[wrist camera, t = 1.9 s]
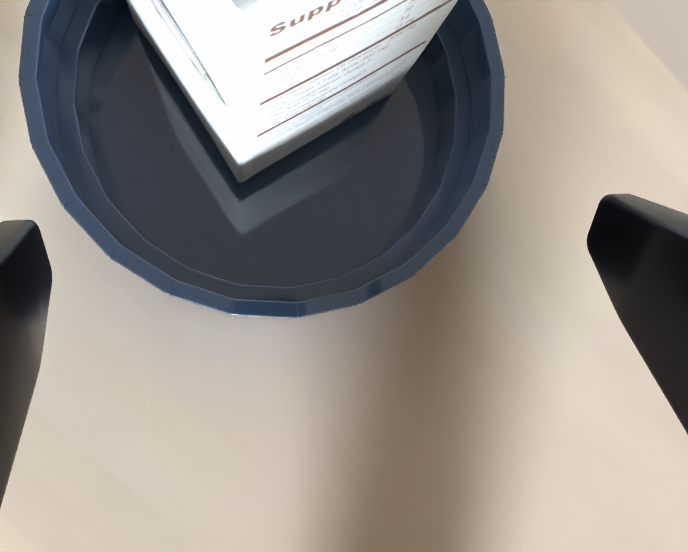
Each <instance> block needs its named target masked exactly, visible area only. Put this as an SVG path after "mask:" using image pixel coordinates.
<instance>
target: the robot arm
mask: <svg viewBox="0 0 688 552" xmlns="http://www.w3.org/2000/svg"><path fill="white" fill-rule="evenodd" d="M587 247H588V251H589V253H590V255H591V257H592V260H593V262H594V264H595V266H596V268H597V271H598V273H599V275H600V277H601V280H602V282H603V284H604V286H605V288H606V291H607V293H608V295H609V297H610V299H611V302H612V304H613V306H614V308H615V310H616V312H617V314H618V316H619V318H620V320H621V322H622V324H623V326H624V327H625V329H626V331H627V333H628V334H629V336H630V338H631V339H632V341H633V343H634V344H635V346H636V348H637V350H638V351H639V353H640V355H641V356H642V358H643V360H644V361H645V363H646V365H647V366H648V368H649V370H650V371H651V373H652V375H653V377H654V378H655V380H656V382H657V383H658V385H659V387H660V388H661V390H662V392H663V393H664V395H665V397H666V398H667V400H668V402H669V404H670V405H671V407H672V409H673V410H674V412H675V414H676V415H677V417H678V419H679V420H680V422H681V424H682V425H683V427H684V429H685V431H686V432H687V434H688V214H685V213H682V212H679V211H676V210H674V209H671V208H668V207H665V206H662V205H659V204H657V203H654V202H651V201H648V200H645V199H643V198H640V197H637V196H634V195H631V194H610V195H606V196H605V197H603V198H602V199H601V201H600V203H599V205H598V208H597V210H596V213H595V216H594V219H593V222H592V224H591V227H590V230H589V233H588V236H587ZM51 286H52V271H51V266H50V262H49V259H48V256H47V252H46V249H45V246H44V242H43V239H42V236H41V232H40V229H39V227H38V225H37V224H36V223H35V222H34V221H32V220H11V221H3V222H1V223H0V508H1V504H2V501H3V497H4V494H5V490H6V486H7V483H8V479H9V476H10V472H11V469H12V465H13V462H14V458H15V455H16V451H17V448H18V444H19V441H20V437H21V434H22V430H23V427H24V423H25V420H26V416H27V412H28V409H29V405H30V402H31V398H32V395H33V391H34V388H35V384H36V381H37V377H38V373H39V369H40V363H41V357H42V351H43V344H44V336H45V329H46V322H47V315H48V307H49V300H50V293H51Z"/></svg>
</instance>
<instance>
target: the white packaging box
mask: <svg viewBox="0 0 688 552" xmlns="http://www.w3.org/2000/svg"><path fill="white" fill-rule="evenodd" d="M457 1H458V0H126V2H127V4H128V7H129V10H130V13H131V15H132V18H133V20H134V22H135V23H136V25H137V26H138V28H139V29H140V30H141V32H142V33H143V34H144V36H145V37H146V39H147V40H148V41H149V43H150V44H151V46H152V47H153V48H154V50H155V51H156V53H157V54H158V56H159V57H160V58H161V60H162V61H163V63H164V64H165V66H166V67H167V69H168V70H169V72H170V73H171V75H172V77H173V78H174V80H175V81H176V83H177V84H178V86H179V87H180V89H181V90H182V92H183V94H184V95H185V97H186V98H187V100H188V101H189V103H190V104H191V106H192V108H193V109H194V111H195V112H196V114H197V116H198V117H199V119H200V120H201V122H202V124H203V125H204V127H205V128H206V130H207V131H208V133H209V135H210V136H211V138H212V139H213V141H214V143H215V144H216V146H217V148H218V149H219V151H220V153H221V154H222V156H223V158H224V159H225V161H226V163H227V164H228V166H229V168H230V169H231V171H232V173H233V175H234V176H235V178H236V180H237V181H238V182H239V183H242V182H244V181H246V180H247V179H249V178H250V177H252V176H253V175H255V174H257V173H258V172H260V171H262V170H263V169H265V168H267V167H268V166H270V165H272V164H273V163H275V162H277V161H278V160H280V159H282V158H283V157H285V156H287V155H288V154H290V153H292V152H293V151H295V150H297V149H298V148H300V147H302V146H303V145H305V144H307V143H308V142H310V141H312V140H314V139H315V138H317V137H319V136H320V135H322V134H324V133H325V132H327V131H329V130H330V129H332V128H334V127H335V126H337V125H339V124H340V123H342V122H344V121H346V120H347V119H349V118H351V117H352V116H354V115H356V114H357V113H359V112H361V111H362V110H364V109H366V108H367V107H369V106H371V105H372V104H374V103H376V102H377V101H379V100H381V99H382V98H384V97H386V96H388V95H389V94H391V93H392V92H393V91H394V90H395V89H396V87H397V86H398V85H399V83H400V82H401V80H402V79H403V78H404V76H405V75H406V73H407V72H408V70H409V69H410V68H411V66H412V65H413V64H414V63H415V62H416V60H417V59H418V57H419V56H420V54H421V53H422V51H423V50H424V49H425V47H426V46H427V44H428V43H429V42H430V40H431V39H432V37H433V36H434V34H435V33H436V31H437V30H438V28H439V27H440V25H441V24H442V23H443V21H444V20H445V18H446V17H447V15H448V14H449V13H450V11H451V10H452V8H453V7H454V5H455V4H456V2H457Z"/></svg>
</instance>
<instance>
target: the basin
mask: <svg viewBox="0 0 688 552" xmlns="http://www.w3.org/2000/svg"><path fill="white" fill-rule="evenodd" d="M25 14H26V15H25V16H24V25H23V36H22V46H21V57H20V67H19V77H18V78H19V86H20V91H21V96H22V101H23V107H24V112H25V117H26V122H27V127H28V132H29V137H30V142H31V145H32V148H33V150H34V152H35V154H36V156H37V158H38V160H39V162H40V164H41V166H42V168H43V170H44V172H45V174H46V176H47V178H48V180H49V182H50V183H51V185H52V187H53V189H54V191H55V193H56V195H57V197H58V199H59V201H60V203H61V205H62V206H63V207H64V209H65V210H66V211H67V212H68V213H69V214H70V215H71V217H72V218H73V219H74V220H75V221H76V222H77V223H78V224H79V225H80V226H81V227H82V229H83V230H84V231H85V232H86V233H87V234H88V235H89V236H90V237H91V238H92V239H93V241H94V242H95V243H96V244H97V245H98V246H99V247H100V248H101V249H102V250H103V251H104V253H105V254H106V255H107V256H109V257H110V258H111V259H112V260H114V261H115V262H117V263H118V264H120V265H122V266H123V267H125V268H126V269H128V270H129V271H131V272H133V273H134V274H136V275H137V276H139V277H140V278H142V279H144V280H145V281H147V282H148V283H150V284H152V285H153V286H155V287H156V288H158V289H159V290H161V291H163V292H164V293H166V294H168V295H170V296H173V297H176V298H179V299H182V300H185V301H188V302H191V303H194V304H197V305H201V306H204V307H207V308H210V309H213V310H216V311H219V312H223V313H226V314H229V315H234V316H244V317H264V318H285V319H288V318H301V317H306V316H310V315H315V314H319V313H324V312H329V311H333V310H338V309H342V308H347V307H352V306H356V305H359V304H362V303H364V302H366V301H368V300H370V299H372V298H374V297H375V296H377V295H379V294H381V293H383V292H385V291H387V290H389V289H391V288H393V287H395V286H396V285H398V284H400V283H402V282H404V281H406V280H408V279H410V278H412V277H413V276H414V275H416V274H417V273H418V272H419V271H420V270H421V269H422V268H423V267H424V266H426V265H427V264H428V263H429V262H430V261H431V260H432V259H433V258H434V257H435V256H436V255H437V254H438V253H439V252H441V251H442V250H443V249H444V248H445V247H446V246H447V245H448V244H449V243H450V242H451V241H452V240H453V239H454V238H455V237H456V235H458V234H459V232H460V230H461V229H462V227H463V226H464V224H465V222H466V221H467V219H468V217H469V216H470V214H471V212H472V211H473V209H474V208H475V206H476V204H477V203H478V201H479V199H480V198H481V196H482V194H483V193H484V191H485V190H486V188H487V185H488V182H489V179H490V175H491V172H492V169H493V165H494V162H495V158H496V155H497V151H498V148H499V145H500V141H501V138H502V134H503V132H502V131H503V123H504V82H505V75H504V68H503V64H502V60H501V55H500V51H499V47H498V42H497V38H496V33H495V29H494V25H493V20H492V18H491V15H490V13H489V11H488V9H487V7H486V5H485V3H484V1H483V0H458V1H457V2H456V4H455V5H454V7H453V8H452V10H451V11H450V13H449V14H448V15H447V17H446V18H445V20H444V21H443V23H442V24H441V25H440V27H439V28H438V30H437V31H436V33H435V34H434V36H433V37H432V39H431V40H430V42H429V43H428V44H427V46H426V47H425V49H424V50H423V51H422V53H421V54H420V56H419V57H418V59H417V60H416V62H415V63H414V64H413V65H412V66H411V68H410V69H409V70H408V72H407V73H406V75H405V76H404V78H403V79H402V80H401V82H400V83H399V85H398V86H397V87H396V89H395V90H394V91H393V92H392V93H391V94H389V95H388V96H386V97H384V98H382V99H381V100H379V101H377V102H376V103H374V104H372V105H371V106H369V107H367V108H366V109H364V110H362V111H361V112H359V113H357V114H356V115H354V116H352V117H351V118H349V119H347V120H346V121H344V122H342V123H340V124H339V125H337V126H335V127H334V128H332V129H330V130H329V131H327V132H325V133H324V134H322V135H320V136H319V137H317V138H315V139H314V140H312V141H310V142H308V143H307V144H305V145H303V146H302V147H300V148H298V149H297V150H295V151H293V152H292V153H290V154H288V155H287V156H285V157H283V158H282V159H280V160H278V161H277V162H275V163H273V164H272V165H270V166H268V167H267V168H265V169H263V170H262V171H260V172H258V173H257V174H255V175H253V176H252V177H250V178H249V179H247V180H246V181H244V182H242V183H239V182H238V181H237V180H236V178H235V176H234V175H233V173H232V171H231V169H230V168H229V166H228V164H227V163H226V161H225V159H224V158H223V156H222V154H221V153H220V151H219V149H218V148H217V146H216V144H215V143H214V141H213V139H212V138H211V136H210V135H209V133H208V131H207V130H206V128H205V127H204V125H203V124H202V122H201V120H200V119H199V117H198V116H197V114H196V112H195V111H194V109H193V108H192V106H191V104H190V103H189V101H188V100H187V98H186V97H185V95H184V94H183V92H182V90H181V89H180V87H179V86H178V84H177V83H176V81H175V80H174V78H173V77H172V75H171V73H170V72H169V70H168V69H167V67H166V66H165V64H164V63H163V61H162V60H161V58H160V57H159V56H158V54H157V53H156V51H155V50H154V48H153V47H152V46H151V44H150V43H149V41H148V40H147V39H146V37H145V36H144V34H143V33H142V32H141V30H140V29H139V28H138V26H137V25H136V23H135V22H134V20H133V18H132V15H131V13H130V10H129V7H128V4H127V2H126V0H30V2H29V5H28V7H27V10H26V12H25Z"/></svg>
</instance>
